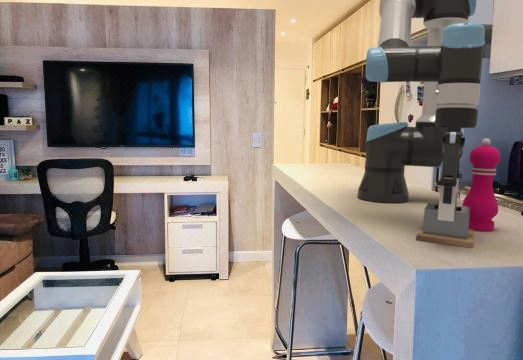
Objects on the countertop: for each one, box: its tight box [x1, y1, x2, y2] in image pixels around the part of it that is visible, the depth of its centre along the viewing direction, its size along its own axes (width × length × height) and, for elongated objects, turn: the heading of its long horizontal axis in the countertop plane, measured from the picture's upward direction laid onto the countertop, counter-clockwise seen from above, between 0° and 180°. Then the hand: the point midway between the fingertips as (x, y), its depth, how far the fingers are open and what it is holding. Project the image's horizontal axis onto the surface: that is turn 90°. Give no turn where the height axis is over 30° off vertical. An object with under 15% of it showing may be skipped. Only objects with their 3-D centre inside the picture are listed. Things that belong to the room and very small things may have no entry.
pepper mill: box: [461, 137, 501, 232], centre depth 93 cm, size 7×7×20 cm
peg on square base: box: [415, 193, 474, 249], centre depth 85 cm, size 12×10×9 cm
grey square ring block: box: [422, 202, 470, 239], centre depth 85 cm, size 8×8×5 cm
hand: (447, 214), depth 85 cm, fingers open, 13 cm apart
